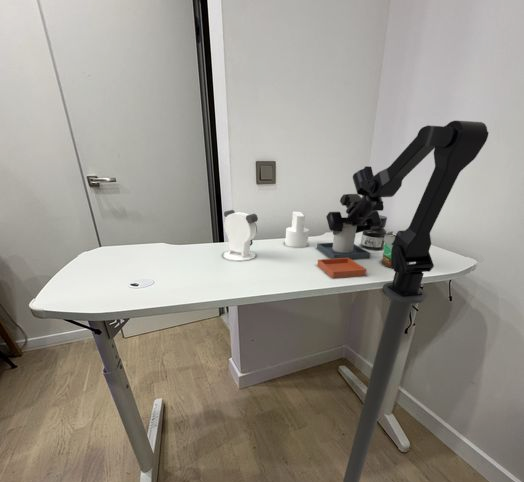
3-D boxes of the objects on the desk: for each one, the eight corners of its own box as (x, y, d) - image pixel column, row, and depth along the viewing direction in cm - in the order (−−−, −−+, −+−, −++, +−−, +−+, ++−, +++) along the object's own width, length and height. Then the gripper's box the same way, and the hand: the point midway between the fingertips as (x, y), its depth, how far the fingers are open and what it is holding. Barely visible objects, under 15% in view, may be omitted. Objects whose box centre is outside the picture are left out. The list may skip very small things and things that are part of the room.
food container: (370, 259, 103) (376, 231, 98) (385, 258, 105) (391, 230, 100) (394, 272, 93) (402, 241, 88) (410, 270, 94) (418, 240, 90)
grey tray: (369, 258, 105) (370, 252, 104) (333, 260, 101) (334, 255, 100) (349, 246, 117) (350, 241, 116) (316, 248, 113) (317, 243, 113)
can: (328, 251, 108) (332, 219, 103) (337, 247, 113) (342, 216, 108) (347, 256, 104) (352, 222, 98) (355, 251, 109) (361, 219, 104)
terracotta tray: (365, 275, 90) (366, 269, 89) (332, 278, 87) (333, 272, 86) (347, 263, 99) (348, 257, 98) (317, 265, 97) (317, 259, 96)
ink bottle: (355, 246, 117) (360, 216, 111) (364, 242, 123) (370, 213, 117) (378, 252, 111) (385, 220, 106) (387, 247, 117) (394, 217, 111)
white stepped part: (283, 241, 121) (285, 211, 116) (304, 240, 122) (307, 211, 117) (287, 247, 114) (289, 216, 108) (309, 247, 114) (312, 216, 109)
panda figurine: (263, 254, 105) (264, 212, 98) (244, 263, 97) (244, 217, 90) (236, 248, 111) (236, 208, 104) (217, 256, 102) (214, 212, 95)
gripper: (383, 186, 97) (359, 213, 111) (332, 186, 92) (314, 215, 107) (393, 214, 94) (367, 239, 108) (341, 216, 89) (321, 241, 104)
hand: (343, 233), depth 107 cm, fingers closed on can, 7 cm apart
